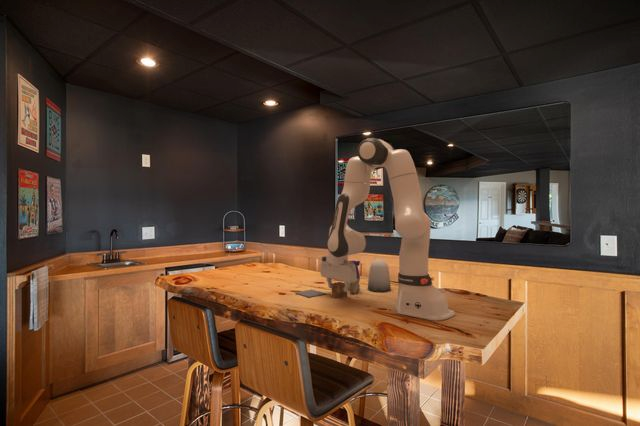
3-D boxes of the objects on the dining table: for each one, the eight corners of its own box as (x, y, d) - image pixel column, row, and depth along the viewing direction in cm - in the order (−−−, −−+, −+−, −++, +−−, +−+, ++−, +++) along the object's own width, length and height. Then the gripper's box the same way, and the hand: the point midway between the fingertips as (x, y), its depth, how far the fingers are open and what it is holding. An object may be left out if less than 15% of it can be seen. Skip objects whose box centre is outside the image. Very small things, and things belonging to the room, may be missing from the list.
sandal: (359, 285, 187) (359, 256, 186) (360, 294, 167) (360, 262, 167) (343, 285, 187) (343, 256, 187) (342, 294, 168) (342, 262, 167)
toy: (390, 287, 181) (390, 257, 181) (391, 292, 170) (391, 261, 170) (368, 286, 183) (368, 257, 183) (367, 291, 172) (367, 260, 172)
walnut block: (347, 296, 163) (347, 283, 163) (339, 298, 160) (339, 285, 160) (339, 294, 167) (339, 281, 167) (331, 296, 164) (331, 283, 164)
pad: (325, 294, 168) (325, 293, 168) (308, 298, 161) (308, 296, 161) (312, 290, 175) (312, 289, 175) (295, 293, 169) (295, 292, 169)
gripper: (360, 261, 157) (359, 292, 158) (328, 255, 173) (328, 284, 173) (350, 262, 153) (349, 295, 154) (318, 257, 169) (318, 286, 169)
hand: (337, 289), depth 163 cm, fingers open, 8 cm apart
